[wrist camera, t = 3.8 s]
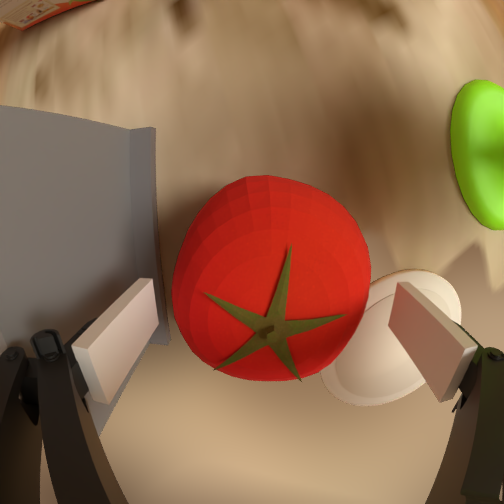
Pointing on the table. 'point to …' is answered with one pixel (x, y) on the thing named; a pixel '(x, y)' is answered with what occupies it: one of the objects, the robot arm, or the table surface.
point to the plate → (384, 344)
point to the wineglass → (480, 150)
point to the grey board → (74, 227)
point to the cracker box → (33, 11)
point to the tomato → (270, 280)
